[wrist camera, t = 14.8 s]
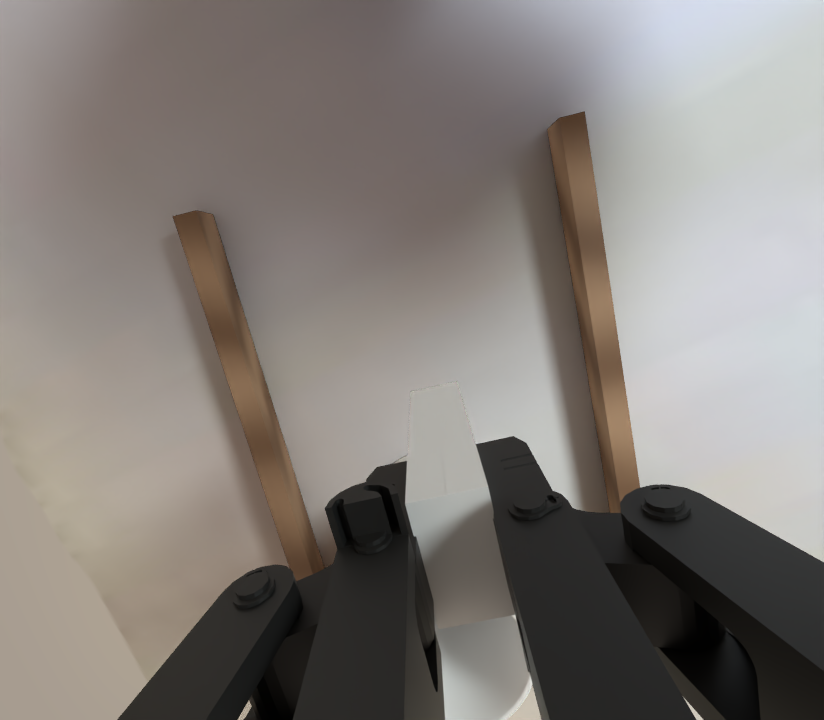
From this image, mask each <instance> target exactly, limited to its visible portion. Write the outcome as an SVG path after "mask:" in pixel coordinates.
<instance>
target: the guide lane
mask: <svg viewBox="0 0 824 720" xmlns="http://www.w3.org/2000/svg"><path fill="white" fill-rule="evenodd" d="M547 131H548V137H549V143H550V149H551V155H552V162H553V168H554V174H555V180H556V186H557V192H558V198H559V204H560V210H561V216H562V222H563V229H564V235H565V241H566V247H567V253H568V259H569V265H570V271H571V277H572V283H573V290H574V296H575V302H576V308H577V314H578V320H579V326H580V332H581V338H582V344H583V350H584V357H585V363H586V369H587V375H588V381H589V387H590V393H591V399H592V405H593V411H594V418H595V424H596V430H597V436H598V442H599V448H600V454H601V460H602V466H603V472H604V478H605V485H606V491H607V497H608V503H609V509H610V513H621V509H620V502H621V501H622V499H623V498H624V496H625V495H626V494H628V493H630V492H631V491H633V490H635V489H637V488H640V484H639V477H638V471H637V464H636V457H635V450H634V443H633V437H632V430H631V423H630V416H629V410H628V403H627V396H626V389H625V382H624V376H623V369H622V362H621V355H620V348H619V342H618V335H617V328H616V321H615V315H614V308H613V301H612V294H611V287H610V281H609V274H608V267H607V260H606V253H605V247H604V240H603V233H602V226H601V219H600V213H599V206H598V199H597V192H596V186H595V179H594V172H593V165H592V158H591V152H590V145H589V138H588V131H587V124H586V118H585V111H584V112H580V113H577V114H573V115H569V116H565V117H561V118H559V119H558V120H557V121H556V122H555V123H553V124H552V125H551V126H550V127H549V128H548V129H547ZM173 219H174V222H175V225H176V228H177V231H178V234H179V237H180V240H181V243H182V246H183V249H184V252H185V255H186V258H187V261H188V264H189V267H190V270H191V273H192V276H193V279H194V282H195V285H196V288H197V291H198V294H199V297H200V300H201V303H202V306H203V309H204V312H205V315H206V318H207V321H208V324H209V327H210V330H211V333H212V336H213V339H214V342H215V345H216V348H217V351H218V354H219V357H220V360H221V363H222V366H223V369H224V372H225V375H226V378H227V381H228V384H229V387H230V390H231V393H232V396H233V399H234V402H235V405H236V408H237V411H238V414H239V417H240V420H241V423H242V426H243V429H244V432H245V435H246V438H247V441H248V444H249V447H250V450H251V453H252V456H253V459H254V462H255V465H256V468H257V471H258V474H259V477H260V480H261V483H262V486H263V489H264V492H265V495H266V498H267V501H268V504H269V507H270V510H271V513H272V516H273V519H274V522H275V525H276V528H277V531H278V534H279V537H280V540H281V543H282V546H283V549H284V552H285V555H286V558H287V561H288V564H289V567H290V570H292V571H293V574H294V577H295V579H296V581H298V580H300V579H303V578H305V577H307V576H310V575H312V574H314V573H317V572H319V571H321V570H323V569H324V565H323V562H322V559H321V556H320V553H319V550H318V546H317V543H316V540H315V537H314V534H313V530H312V527H311V524H310V521H309V518H308V515H307V511H306V508H305V505H304V502H303V499H302V496H301V492H300V489H299V486H298V483H297V480H296V477H295V473H294V470H293V467H292V464H291V461H290V457H289V454H288V451H287V448H286V445H285V442H284V438H283V435H282V432H281V429H280V426H279V423H278V419H277V416H276V413H275V410H274V407H273V403H272V400H271V397H270V394H269V391H268V388H267V384H266V381H265V378H264V375H263V372H262V369H261V365H260V362H259V359H258V356H257V353H256V350H255V346H254V343H253V340H252V337H251V334H250V330H249V327H248V324H247V321H246V318H245V315H244V311H243V308H242V305H241V302H240V299H239V296H238V292H237V289H236V286H235V283H234V280H233V277H232V273H231V270H230V267H229V264H228V261H227V257H226V254H225V251H224V248H223V245H222V242H221V238H220V235H219V232H218V229H217V226H216V223H215V219H214V216H213V214H209V213H205V212H201V211H192V212H188V213H184V214H180V215H176V216H173Z"/></svg>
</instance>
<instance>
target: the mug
mask: <svg viewBox="0 0 824 720" xmlns="http://www.w3.org/2000/svg"><path fill="white" fill-rule="evenodd" d="M404 461H407V456H405V457H403V458H401V459H399V460H398V461H396V462H395V463H399V462H404ZM434 621H435V632H436V636H437V640H438V643H439V647H440V651H441V660H442V676H443V692H444V709H445V720H507V719H508V718H509V717H510V716H511V715H513V714H514V713H515V711H516V710H517V709H518V708H519V707H520V706H521V704H522V703H523V702H524V700H525V699H526V697H527V695H528V694H529V692H530V690H531V687H532V685H533V684H532V680H531V677H530V673H529V672H528V670H527V665H526V661H525V656H524V652H523V647H522V643H521V638H520V634H519V629H518V625H517V620H516V615H511V616H506V617H501V618H496V619H490V620H485V621H480V622H475V623H469V624H464V625H459V626H453V627H448V628H443V629H439V628H438V625H437V621H436V617H435V613H434Z"/></svg>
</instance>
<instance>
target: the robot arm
mask: <svg viewBox="0 0 824 720" xmlns="http://www.w3.org/2000/svg"><path fill="white" fill-rule="evenodd" d="M620 509H621V513H595V512H585V511H581V510H576V509H574V508H572V507H571V505H570V503H569V502H568V500H567V499H566V498H565V497H564V496H563V495H561V494H560V493H557V492H555V491H552V489H551V487H550V485H549V483H548V481H547V480H546V478H545V476H544V474H543V472H542V471H541V469H540V467H539V465H538V464H537V462H536V460H535V458H534V456H533V455H532V453H531V451H530V449H529V447H528V445H527V443H525V442H523V441H521V440H519V439H518V438H516V437H514V436H513V437H508V438H503V439H499V440H494V441H489V442H485V443H480V444H476V443H475V440H474V437H473V433H472V430H471V426H470V423H469V420H468V416H467V413H466V409H465V406H464V403H463V399H462V396H461V392H460V389H459V386H458V382H457V381H455V382H451V383H446V384H442V385H437V386H433V387H428V388H424V389H420V390H415V391H411V392H410V411H409V431H408V452H407V461H404V462H399V463H394V464H390V465H385V466H380V467H377V468H376V469H375V470H374V471H373V472H372V473H371V475H370V476H369V477H368V478H367V480H366V482H365V483H362V484H358V485H355V486H352V487H350V488H348V489H346V490H344V491H342V492H340V493H339V494H338V495H336V496H335V497H334V498H333V499H331V500H330V501H329V503H328V505H327V506H326V508H325V511H326V514H327V517H328V520H329V524H330V527H331V530H332V533H333V536H334V539H335V543H336V546H337V552H336V556H335V560H334V563H333V564H332V565H330V566H329V567H327V568H325V569H323V570H321V571H319V572H317V573H314V574H312V575H310V576H307V577H305V578H303V579H300V580H298V581H296V579H295V577H294V574H293V571H292V570H290V569H289V568H288V567H287V566H282V565H270V566H265V567H260V568H257V569H255V570H252V571H250V572H248V573H246V574H245V575H243V576H242V577H240V578H239V579H237V580H236V581H234V582H233V583H232V584H231V585H230V586H229V587H228V588H227V589H226V590H225V591H224V592H223V593H222V594H221V595H220V596H219V597H218V599H217V600H216V601H215V602H214V603H213V605H212V606H211V607H210V608H209V610H208V611H207V612H206V613H205V614H204V616H203V617H202V618H201V619H200V620H199V622H198V623H197V624H196V625H195V626H194V628H193V629H192V630H191V631H190V632H189V634H188V635H187V636H186V637H185V639H184V640H183V641H182V642H181V643H180V645H179V646H178V647H177V648H176V649H175V651H174V652H173V653H172V654H171V655H170V657H169V658H168V659H167V660H166V661H165V663H164V664H163V665H162V666H161V668H160V669H159V670H158V671H157V672H156V674H155V675H154V676H153V677H152V678H151V680H150V681H149V682H148V683H147V684H146V686H145V687H144V688H143V689H142V691H141V692H140V693H139V694H138V695H137V697H136V698H135V699H134V700H133V702H132V703H131V704H130V705H129V706H128V707H127V709H126V710H125V711H124V712H123V713H122V715H121V716H120V717H119V719H118V720H237V719H238V718H239V716H240V714H241V712H242V711H243V709H244V707H245V706H246V704H247V702H248V701H250V703H251V706H252V707H251V709H250V711H249V712H248V714H247V716H246V717H245V719H244V720H445V709H444V692H443V676H442V660H441V651H440V647H439V643H438V640H437V636H436V632H435V621H434V613H435V617H436V621H437V625H438V628H439V629H443V628H448V627H453V626H459V625H464V624H469V623H475V622H480V621H485V620H490V619H496V618H501V617H506V616H511V615H516V620H517V625H518V629H519V634H520V638H521V643H522V647H523V652H524V656H525V661H526V665H527V670H528V672H529V673H530V677H531V680H532V684H533V688H534V692H535V696H536V700H537V704H538V707H539V711H540V715H541V719H542V720H696V718H695V717H694V715H693V713H692V712H691V710H690V708H689V707H688V705H687V703H686V701H685V700H684V698H685V699H686V700H687V701H688V702H689V704H690V705H691V706H692V707H693V708H694V709H695V710H696V711H697V713H698V714H699V715H700V716H701V717H702V718H703V719H704V720H824V562H822V561H820V560H818V559H816V558H815V557H813V556H811V555H809V554H807V553H806V552H804V551H802V550H800V549H799V548H797V547H795V546H793V545H791V544H790V543H788V542H786V541H784V540H782V539H781V538H779V537H777V536H775V535H773V534H772V533H770V532H768V531H766V530H765V529H763V528H761V527H759V526H757V525H756V524H754V523H752V522H750V521H748V520H747V519H745V518H743V517H741V516H739V515H738V514H736V513H734V512H732V511H731V510H729V509H727V508H725V507H723V506H722V505H720V504H718V503H716V502H714V501H713V500H711V499H709V498H707V497H705V496H704V495H702V494H700V493H697V492H695V491H692V490H690V489H687V488H684V487H678V486H672V485H650V486H646V487H642V488H637V489H635V490H633V491H631V492H630V493H628V494H626V495H625V496H624V498H623V499H622V501H621V502H620ZM683 697H684V698H683Z"/></svg>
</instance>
